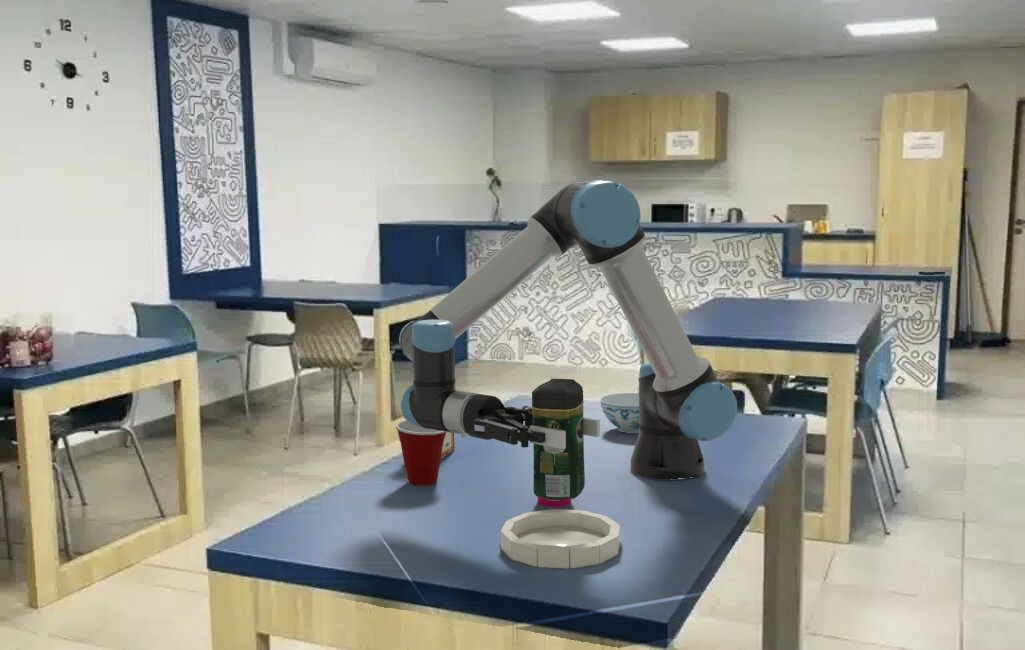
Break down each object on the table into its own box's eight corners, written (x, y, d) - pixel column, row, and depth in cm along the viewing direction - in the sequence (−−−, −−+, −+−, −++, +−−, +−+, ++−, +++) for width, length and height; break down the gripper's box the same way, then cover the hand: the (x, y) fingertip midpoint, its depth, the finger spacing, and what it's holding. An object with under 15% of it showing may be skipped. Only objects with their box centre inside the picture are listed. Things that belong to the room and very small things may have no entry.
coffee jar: (542, 483, 165) (541, 374, 162) (588, 486, 163) (588, 376, 160) (527, 500, 156) (525, 385, 153) (576, 504, 153) (575, 387, 151)
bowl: (589, 520, 172) (589, 504, 172) (639, 557, 155) (640, 539, 154) (487, 535, 166) (486, 517, 165) (527, 575, 148) (527, 556, 148)
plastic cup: (442, 491, 192) (441, 431, 191) (389, 488, 194) (387, 429, 193) (456, 475, 203) (455, 418, 201) (406, 473, 205) (404, 417, 203)
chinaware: (666, 437, 231) (666, 405, 230) (602, 438, 231) (602, 406, 230) (657, 422, 246) (658, 392, 245) (598, 423, 246) (598, 393, 245)
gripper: (515, 424, 178) (619, 443, 163) (432, 449, 162) (540, 472, 147) (514, 384, 177) (619, 399, 162) (431, 404, 161) (539, 423, 146)
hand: (581, 434), depth 155 cm, fingers closed on coffee jar, 8 cm apart
